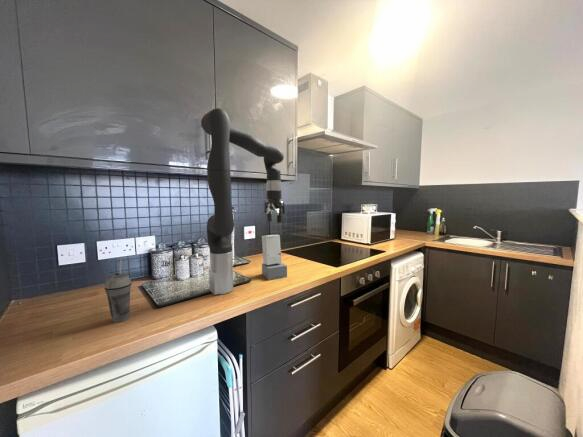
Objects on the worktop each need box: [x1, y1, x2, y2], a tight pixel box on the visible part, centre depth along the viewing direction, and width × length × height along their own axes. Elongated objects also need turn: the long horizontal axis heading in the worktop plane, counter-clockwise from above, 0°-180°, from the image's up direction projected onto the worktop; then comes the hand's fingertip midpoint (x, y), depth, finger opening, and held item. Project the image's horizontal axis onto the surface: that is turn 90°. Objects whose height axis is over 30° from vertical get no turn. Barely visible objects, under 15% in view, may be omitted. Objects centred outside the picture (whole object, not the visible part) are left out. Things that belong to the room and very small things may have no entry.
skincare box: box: [261, 234, 282, 265], centre depth 122 cm, size 8×6×15 cm
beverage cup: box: [104, 259, 132, 323], centre depth 77 cm, size 7×7×20 cm
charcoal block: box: [261, 262, 288, 281], centre depth 121 cm, size 10×10×6 cm
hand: (274, 222), depth 119 cm, fingers open, 8 cm apart
